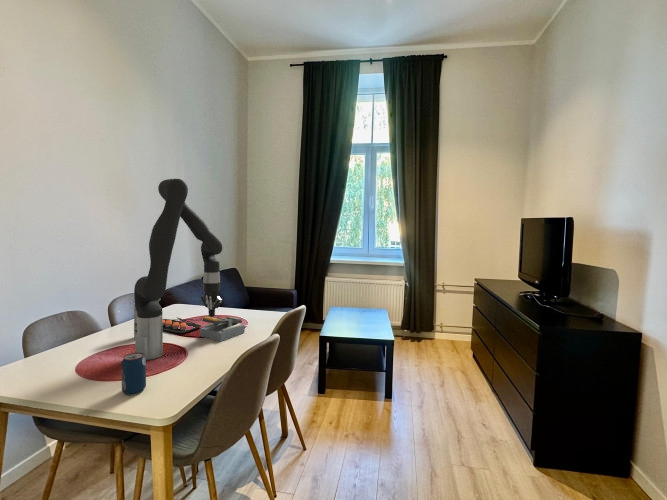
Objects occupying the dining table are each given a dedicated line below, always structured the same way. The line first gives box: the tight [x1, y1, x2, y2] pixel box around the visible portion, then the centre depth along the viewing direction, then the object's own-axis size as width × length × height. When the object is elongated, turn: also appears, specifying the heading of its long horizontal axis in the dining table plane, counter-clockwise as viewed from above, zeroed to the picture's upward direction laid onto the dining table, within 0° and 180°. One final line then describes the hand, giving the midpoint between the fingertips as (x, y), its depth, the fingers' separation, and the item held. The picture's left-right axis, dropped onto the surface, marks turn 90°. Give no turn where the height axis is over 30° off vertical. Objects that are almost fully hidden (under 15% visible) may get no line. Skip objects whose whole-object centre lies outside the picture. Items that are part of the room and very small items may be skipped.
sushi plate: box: [162, 317, 202, 334], centre depth 188 cm, size 29×30×4 cm
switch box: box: [199, 316, 246, 342], centre depth 172 cm, size 16×14×8 cm
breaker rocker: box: [201, 316, 243, 324], centre depth 172 cm, size 19×8×2 cm, turn 152°
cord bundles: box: [204, 323, 242, 332], centre depth 172 cm, size 12×13×1 cm
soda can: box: [120, 352, 147, 396], centre depth 113 cm, size 7×7×12 cm
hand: (211, 316), depth 165 cm, fingers closed
